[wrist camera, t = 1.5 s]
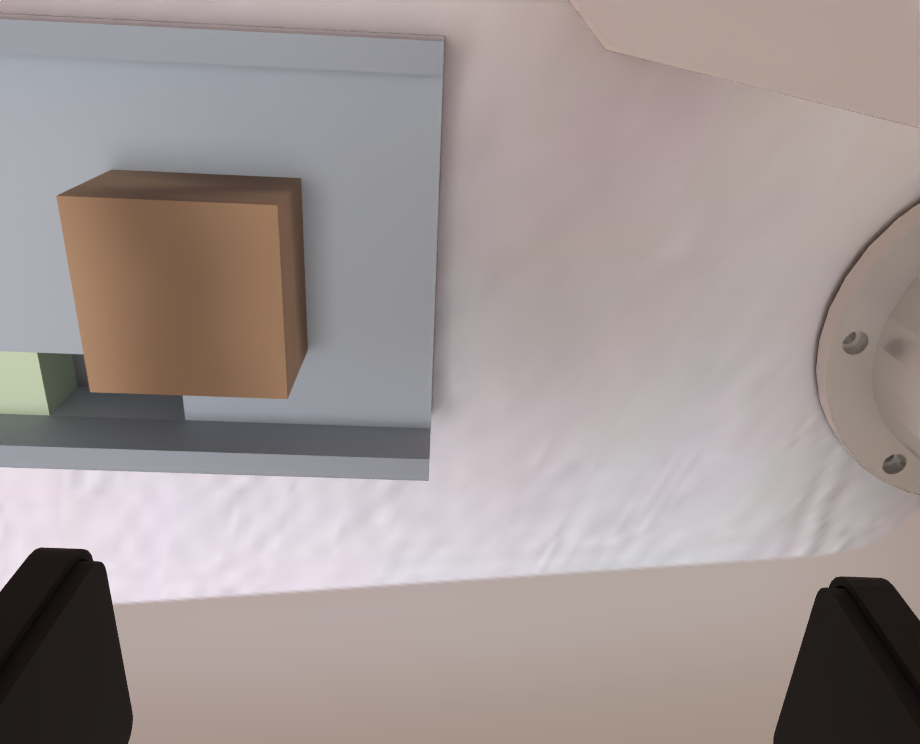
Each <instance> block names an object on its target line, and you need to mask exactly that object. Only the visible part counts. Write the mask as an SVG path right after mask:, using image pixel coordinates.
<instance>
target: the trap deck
mask: <svg viewBox="0 0 920 744" xmlns="http://www.w3.org/2000/svg"><path fill="white" fill-rule="evenodd" d="M444 39H445V36H435V35H416V34H396V33H376V32H357V31H337V30H317V29H298V28H278V27H258V26H239V25H219V24H199V23H180V22H160V21H140V20H121V19H101V18H81V17H62V16H42V15H22V14H3V13H0V467H13V468H44V469H75V470H107V471H138V472H169V473H200V474H232V475H263V476H294V477H325V478H357V479H388V480H419V481H428V479H429V455H430V431H431V405H432V377H433V349H434V320H435V292H436V264H437V236H438V208H439V180H440V152H441V123H442V95H443V67H444ZM109 170H132V171H154V172H177V173H199V174H221V175H244V176H266V177H289V178H301V186H302V212H303V238H304V263H305V289H306V314H307V340H308V351H307V353H306V356H305V358H304V361H303V363H302V365H301V368H300V370H299V373H298V375H297V378H296V380H295V382H294V385H293V387H292V390H291V392H290V395H289V397H288V399H268V398H240V397H211V396H183V395H155V394H126V393H98V392H90V388H89V382H88V377H87V371H86V365H85V359H84V354H83V348H82V342H81V336H80V330H79V325H78V319H77V313H76V307H75V301H74V296H73V290H72V284H71V278H70V273H69V267H68V261H67V255H66V249H65V244H64V238H63V232H62V226H61V220H60V215H59V209H58V203H57V197H56V196H57V195H59V194H61V193H63V192H65V191H67V190H69V189H71V188H74V187H76V186H78V185H80V184H82V183H84V182H86V181H88V180H90V179H92V178H95V177H97V176H99V175H101V174H103V173H105V172H107V171H109Z"/></svg>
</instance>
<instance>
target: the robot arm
mask: <svg viewBox="0 0 920 744" xmlns="http://www.w3.org/2000/svg"><path fill="white" fill-rule="evenodd" d="M846 336H847V337H846ZM816 375H817V384H818V393H819V400H820V403H821V405H822V408H823V411H824V414H825V417H826V419H827V422H828V425H829V426H830V428H831V429H832V431H833V432H834V434H835V435H836V437H837V438H838V440H839V441H840V443H841V444H842V446H843V447H844V448H845V449H846V450H847V451H848V452H849V453H850V454H851V455H852V456H853V457H854V458H855V459H856V460H857V461H858V462H859V464H860V465H861V466H862V467H864V468H865V469H866V470H868V471H869V472H870V473H871V474H873V475H874V476H875V477H877V478H878V479H880V480H882V481H883V482H886V483H888V484H890V485H893V486H895V487H897V488H900V489H902V490H904V491H907V492H909V493H914V494H919V495H920V203H919V204H917V205H916V206H915V207H913V208H912V209H910V210H909V211H908V212H906V213H905V214H904V215H902V216H901V217H899V218H898V219H897V220H896V221H895V222H894V223H893V224H892V225H891V226H890V227H888V228H887V229H886V230H885V231H884V232H883V233H882V234H881V235H880V236H879V237H878V238H877V239H876V240H875V241H874V242H873V243H872V244H871V245H870V246H869V247H868V248H867V250H866V251H865V252H864V254H863V255H862V256H861V258H860V259H859V260H858V262H857V263H856V264H855V266H854V267H853V268H852V270H851V271H850V272H849V274H848V275H847V276H846V278H845V280H844V282H843V283H842V285H841V287H840V289H839V291H838V293H837V295H836V297H835V299H834V301H833V303H832V304H831V306H830V308H829V311H828V314H827V318H826V321H825V324H824V327H823V330H822V333H821V337H820V340H819V348H818V357H817V367H816ZM132 722H133V715H132V708H131V702H130V697H129V691H128V687H127V681H126V676H125V670H124V665H123V659H122V654H121V648H120V643H119V638H118V633H117V627H116V621H115V616H114V611H113V605H112V599H111V594H110V589H109V583H108V578H107V572H106V569H105V566H104V564H103V563H102V562H98V561H93V559H92V555H91V554H90V553H89V551H88V550H85V549H66V548H38V549H36V550H34V551H33V552H32V553H31V554H30V555H29V556H28V557H27V559H26V560H25V561H24V563H23V564H22V565H21V566H20V568H19V569H18V570H17V571H16V573H15V574H14V575H13V576H12V578H11V579H10V580H9V581H8V583H7V584H6V585H5V586H4V588H3V589H2V590H1V592H0V744H128V742H129V739H130V735H131V730H132ZM773 744H920V621H919V619H918V618H917V617H916V615H915V614H914V613H913V612H912V610H911V609H910V607H909V606H908V605H907V603H906V602H905V601H904V599H903V598H902V597H901V595H900V594H899V593H898V592H897V590H896V589H895V588H894V586H893V585H892V584H891V583H890V582H889V581H887V580H885V579H883V578H867V577H836V578H835V579H834V580H833V581H832V582H831V584H830V586H829V588H821V589H820V590H819V591H818V593H817V595H816V598H815V602H814V605H813V608H812V611H811V614H810V618H809V621H808V624H807V628H806V631H805V634H804V637H803V641H802V644H801V647H800V651H799V654H798V657H797V661H796V664H795V667H794V671H793V674H792V677H791V680H790V684H789V687H788V690H787V693H786V697H785V700H784V703H783V707H782V710H781V713H780V716H779V720H778V723H777V726H776V730H775V733H774V742H773Z"/></svg>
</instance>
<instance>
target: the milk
mask: <svg viewBox="0 0 920 744" xmlns="http://www.w3.org/2000/svg"><path fill="white" fill-rule="evenodd" d="M569 1H570V3H571V4H572V5H573V7H574V8H575V9H576V11H577V12H578V13H579V15H580V16H581V17H582V19H583V20H584V21H585V23H586V24H587V26H588V27H589V28H590V30H591V31H592V32H593V34H594V35H595V36H596V38H597V39H598V40H599V42H600V43H601V44H602V46H603V47H604V48H605V49H606V50H609V51H613V52H617V53H621V54H625V55H629V56H633V57H637V58H641V59H645V60H649V61H653V62H657V63H661V64H665V65H669V66H673V67H677V68H681V69H685V70H689V71H693V72H697V73H701V74H705V75H709V76H713V77H717V78H721V79H725V80H729V81H733V82H737V83H741V84H745V85H749V86H753V87H757V88H761V89H765V90H769V91H773V92H777V93H781V94H785V95H789V96H793V97H797V98H801V99H805V100H809V101H813V102H817V103H821V104H825V105H829V106H833V107H837V108H841V109H845V110H849V111H853V112H857V113H861V114H865V115H869V116H873V117H877V118H881V119H885V120H889V121H893V122H897V123H901V124H905V125H909V126H913V127H917V128H920V0H569Z"/></svg>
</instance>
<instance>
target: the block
mask: <svg viewBox="0 0 920 744" xmlns="http://www.w3.org/2000/svg"><path fill="white" fill-rule="evenodd" d="M56 197H57V203H58V209H59V215H60V220H61V226H62V232H63V238H64V244H65V249H66V255H67V261H68V267H69V273H70V278H71V284H72V290H73V296H74V301H75V307H76V313H77V319H78V325H79V330H80V336H81V342H82V348H83V354H84V359H85V365H86V371H87V377H88V382H89V388H90V392H98V393H126V394H155V395H183V396H211V397H240V398H268V399H288V397H289V395H290V392H291V390H292V387H293V385H294V382H295V380H296V378H297V375H298V373H299V370H300V368H301V365H302V363H303V361H304V358H305V356H306V353H307V351H308V340H307V314H306V289H305V263H304V238H303V212H302V186H301V178H289V177H266V176H244V175H221V174H199V173H177V172H154V171H132V170H109V171H107V172H105V173H103V174H101V175H99V176H97V177H95V178H92V179H90V180H88V181H86V182H84V183H82V184H80V185H78V186H76V187H74V188H71V189H69V190H67V191H65V192H63V193H61V194H59V195H57V196H56Z"/></svg>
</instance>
